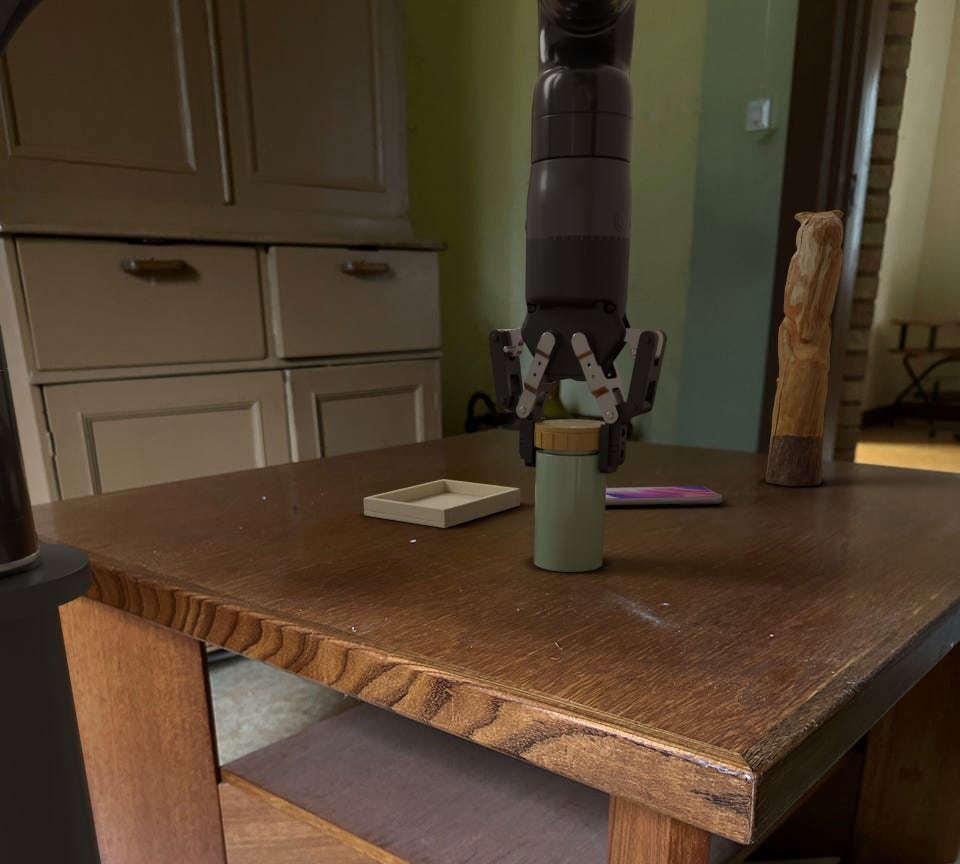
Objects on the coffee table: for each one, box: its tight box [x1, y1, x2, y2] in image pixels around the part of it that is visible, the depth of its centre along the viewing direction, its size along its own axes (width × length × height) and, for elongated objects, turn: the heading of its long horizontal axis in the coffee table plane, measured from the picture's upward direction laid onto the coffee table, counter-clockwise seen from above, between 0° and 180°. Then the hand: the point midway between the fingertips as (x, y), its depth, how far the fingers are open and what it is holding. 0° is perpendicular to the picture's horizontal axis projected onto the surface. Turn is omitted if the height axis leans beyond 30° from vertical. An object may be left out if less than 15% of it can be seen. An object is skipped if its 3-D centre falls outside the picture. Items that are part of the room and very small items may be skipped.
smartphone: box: [605, 485, 723, 506], centre depth 98 cm, size 7×1×15 cm
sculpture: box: [765, 209, 844, 488], centre depth 105 cm, size 7×9×30 cm
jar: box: [533, 448, 608, 573], centre depth 72 cm, size 6×6×10 cm
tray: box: [363, 478, 521, 529], centre depth 94 cm, size 13×10×2 cm
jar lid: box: [534, 418, 605, 451], centre depth 71 cm, size 6×6×2 cm
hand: (570, 468), depth 71 cm, fingers closed on jar lid, 6 cm apart
